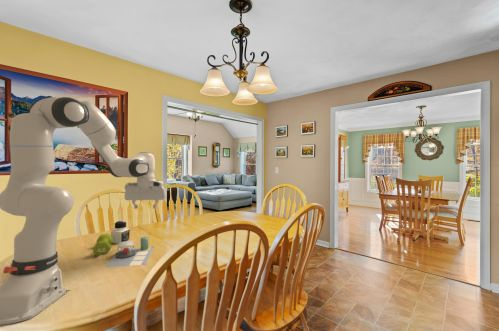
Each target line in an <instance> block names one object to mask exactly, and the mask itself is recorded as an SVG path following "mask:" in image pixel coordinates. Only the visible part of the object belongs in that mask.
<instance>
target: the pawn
mask: <svg viewBox="0 0 499 331" xmlns="http://www.w3.org/2000/svg"><path fill="white" fill-rule="evenodd" d="M148 247H149V237H148V236H143V237H142V236H141V237H140V248H141V250H147V249H148Z"/></svg>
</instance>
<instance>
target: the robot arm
mask: <svg viewBox="0 0 499 331" xmlns="http://www.w3.org/2000/svg"><path fill="white" fill-rule="evenodd" d="M75 127H78V129H79V130H80V131H81V132H83V134H84V135H85V136H86V138H88V140H89V141H90V143H91V146H92V147H93V149H94V150H95V151H96V153H97V154H98V155H99V156H100V158H101V159H102V160H103V161H104V163H105V164H106V165H107V166H106V167H107V168H108V171H109V173H110V174H111V175H112V176H113V177H115V178H136V182H127V183H126V184H125V185H124V190H125V191H124V200H125V201H131V203H132V205H133V208H134V210H136V209H138V208H139V204H136V202H137V201H155V204H153V206H152V209H157V205H158V203H159V202H160V201H164V200H165V199H166V194H167V193H166V189H165V187H164V181H161V180H159V179H155V178H156V176H155V170H156V159H155V155H154V154H153V153H151V152H144V151H140V152H139V153H138V154H137V155H135V156H133V157H130V158H129V157H127V158H125V157H121V156H118V154H116V152H115V151H114V148H113V147H111V145H110V144H111V143H112V142H113V141H114V139H115V138H116V136H117V135H116V134H117V130H116V127H115V126H114V125H113V123H112V122H111V121H110V120H109V118H108V117H107V116H106V115H105V113H103V112H102V111H101V110H100V109H99V108H98V107H97V106H96V105H95V104H94V103H93V102H90V101H80V100H78V99H75V98H72V97H69V96H63V97H56V96H53V97H52V96H51V97H47V98H42V99H38V100H35V101H33V102H32V103H31V105H30V106H29V107H28V109H27V111H26V113H25V112H24V113H19V114H17V115H15V116H14V117H13V118H12V119H11V124H10V129H9V130H10V131H9V151H10V153H9V154H10V164H11V165H10V174H9V178H8V182H7V185H6V187H5V188H4V189H3V190H2V191H1V192H0V210H2V211H3V212H5V213H8V214H10V215H12V216H18V217H19V216H20V217H25V221H24V225H23V227H22V229H21V231H19V232H18V233H17V234H16V235H15V237H14V239H13V240H14V241H13V259H12V261H11V263H10V266H5V267H4V268H3V269H2V271H3V272H2V273H3V274H8V275H7V278H6V279H5V280H3V281H4V282H3V283H1V285H0V326H2V325H9V324H14V323H18V322H23V321H27V320H30V319H32V318H34V317H35V316H37V315H38V314H39V313H41V312H42V311H43V310H45V309H47V307H49V306H51V305H52V304H53V303H54V302H56V301H57V300H59V299H60V298H61V297H63V296H64V295H65V294H67V288H64V285H63V276H62V275H63V274H62V269H61V268H60V267H59V266H58V264H57V263H58V261H59V260H58V259H59V254H58V251H57V234H58V230H59V226H60V224H61V221H62V220H63V218H64V217H65V216H66V215H68V214H69V212H71V210H72V209H73V206H74V203H75V202H74V196H73V194H72V193H71V192H70V191H68V190H67V189H63V188H61V187H58V186H52V185H51V186H48V185H46V181H47V178H48V175H49V174H50V173H51V172H52V171H53V170H54V169H55V166H56V165H55V151H54V138H53V135H54V132H55V130H56V129H65V128H66V129H67V128H75Z"/></svg>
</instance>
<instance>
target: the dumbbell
mask: <svg viewBox="0 0 499 331" xmlns="http://www.w3.org/2000/svg"><path fill="white" fill-rule="evenodd" d="M112 241H113V238H112V237H111V233H110V234H109V233H103V234H100V235H99V237H98V238H97V240H96V243H95V245H94V246H93V248H92V251H93V254H94V255H95V256H97V257H99V256H102V255H107V254H109V252H110V250H111V248H112V244H113V243H112Z"/></svg>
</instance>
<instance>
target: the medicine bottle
mask: <svg viewBox="0 0 499 331" xmlns="http://www.w3.org/2000/svg"><path fill="white" fill-rule="evenodd" d="M130 234H131V233H130V228H127V221H125V220H118V221H115V222H114V229H113V230H111V231H110V235H111V237H112V238H113V241H112V243H111V244H117V245H118V243H120V242H124V241H130Z"/></svg>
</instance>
